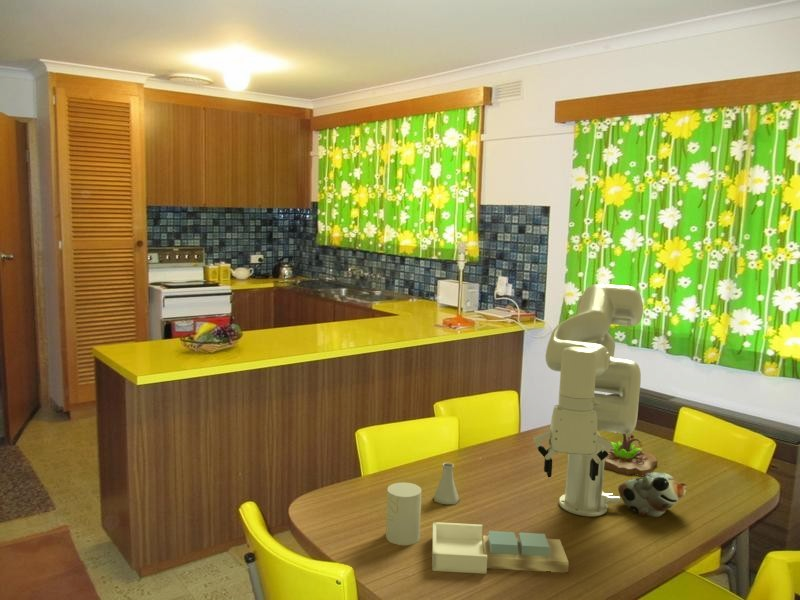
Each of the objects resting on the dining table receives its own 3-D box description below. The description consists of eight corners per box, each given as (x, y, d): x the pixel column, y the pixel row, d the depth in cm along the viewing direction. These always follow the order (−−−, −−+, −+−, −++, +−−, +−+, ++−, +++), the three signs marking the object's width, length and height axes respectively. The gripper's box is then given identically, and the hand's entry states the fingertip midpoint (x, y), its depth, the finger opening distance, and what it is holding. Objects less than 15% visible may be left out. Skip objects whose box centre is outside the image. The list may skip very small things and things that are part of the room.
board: (559, 549, 152) (559, 539, 152) (567, 572, 142) (568, 562, 142) (482, 545, 153) (483, 535, 153) (485, 568, 143) (486, 557, 143)
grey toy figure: (655, 496, 184) (683, 462, 177) (672, 530, 173) (702, 496, 167) (610, 483, 180) (636, 448, 174) (624, 518, 170) (652, 482, 164)
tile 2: (544, 542, 150) (544, 533, 150) (548, 556, 144) (549, 547, 144) (518, 541, 150) (518, 532, 150) (521, 554, 144) (522, 545, 144)
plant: (603, 447, 223) (605, 416, 221) (662, 462, 211) (665, 428, 210) (582, 464, 206) (584, 431, 205) (645, 481, 195) (648, 445, 194)
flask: (458, 506, 173) (459, 471, 172) (431, 503, 174) (432, 468, 173) (461, 495, 180) (462, 461, 179) (435, 492, 181) (436, 458, 180)
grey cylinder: (385, 528, 159) (386, 482, 158) (417, 528, 160) (419, 482, 159) (387, 545, 151) (388, 497, 150) (421, 545, 152) (423, 496, 151)
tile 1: (513, 541, 150) (514, 532, 150) (517, 554, 144) (517, 545, 144) (488, 539, 151) (488, 530, 150) (490, 553, 145) (490, 543, 144)
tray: (481, 540, 155) (482, 524, 155) (486, 573, 141) (487, 556, 140) (432, 537, 156) (432, 522, 155) (432, 570, 141) (433, 553, 141)
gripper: (611, 401, 147) (606, 473, 148) (534, 396, 148) (529, 467, 150) (619, 410, 139) (613, 486, 141) (538, 404, 141) (533, 480, 143)
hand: (570, 476), depth 146 cm, fingers open, 9 cm apart
